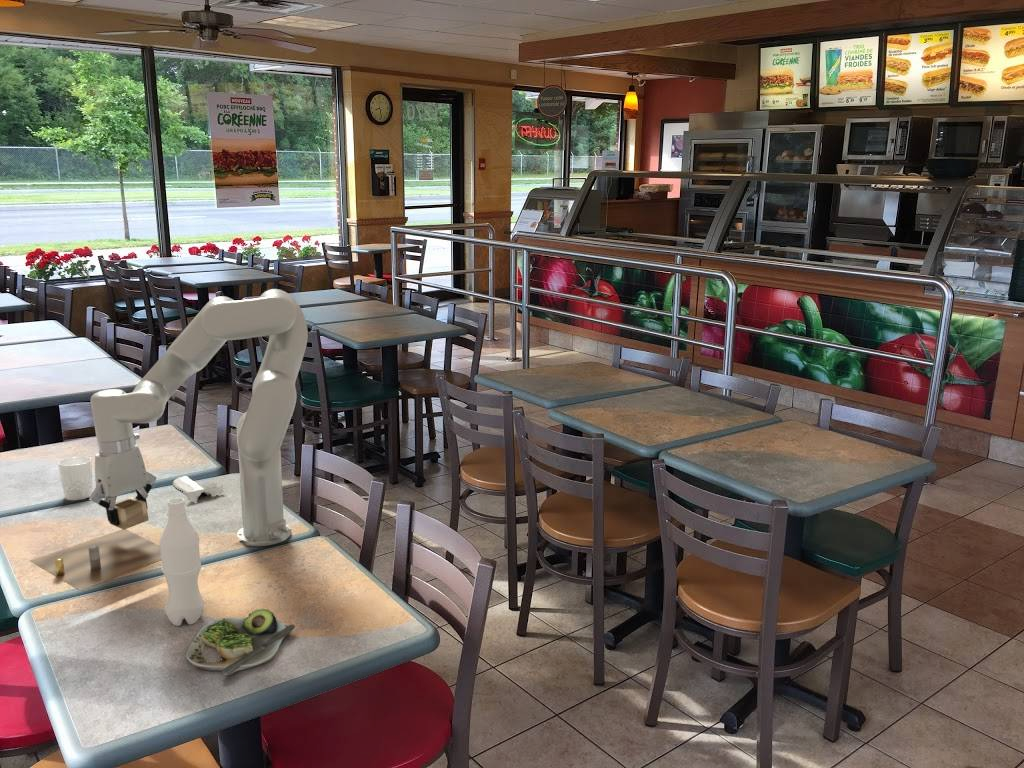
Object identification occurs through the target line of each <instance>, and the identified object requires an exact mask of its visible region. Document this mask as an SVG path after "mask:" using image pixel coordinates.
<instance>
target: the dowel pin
mask: <svg viewBox="0 0 1024 768" xmlns="http://www.w3.org/2000/svg"><path fill="white" fill-rule="evenodd" d="M55 568H56V576H63V575H64V574H65V571H64V563H63V558H57V559H55ZM56 576H55V577H56Z"/></svg>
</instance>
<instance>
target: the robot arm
mask: <svg viewBox="0 0 1024 768" xmlns="http://www.w3.org/2000/svg"><path fill="white" fill-rule="evenodd" d="M308 333H309V332H308V324H307V320H306V316H305V315H304V311H303V309H302V308H301V307H300V305H299V303H298V302H297V301H296V300H295V298H294V297H292V296H291V294H289V293H288V292H286V291H284V290H282V289H278V288H271V289H267V290H265V291H264V292H262V293H261V295H260V296H259V297H257V298H251V299H250V298H249V299H243V300H242V299H241V300H234V299H233V298H230V297H228V296H225V295H222V296H220V295H219V296H216V297H214V298H212V299H210V300H209V301H208V302H207V303H206V304H205V305H204V306H203V307H202V308H201V310H200V311H199V312H198V313H197V314H196V315H195V316H194V318H193V319H191V321H190V322H189V324H188V325H187V326H186V327H185V328H184V329H183V330H182V332H181V333H180V334H179V335H177V337H176V338H175V340H174V341H172V343H171V344H170V346H169V347H168V348H167V349H166V350H165V352H164V353H163V355H162V356H160V358H159V359H158V360H157V361H156V362H155V363H154V365H153V366H151V368H150V369H149V370H148V372H146V374H145V375H144V376H143V377H142V379H140V381H139V382H138V384H136V386H135V387H134V389H133V391H132V392H128V393H127V392H125V390H123V389H118V388H117V389H116V388H113V389H112V388H111V389H103V390H100V391H98V392H95V393H93V394H92V395H91V397H90V407H91V414H92V418H93V424H94V430H95V438H96V443H97V449H98V452H97V453H95V455H94V479H95V480H94V481H95V488H94V490H93V493H92V494H91V496H90V497H88V498H89V499H88V500H89V501H91V502H93V503H95V504H97V505H98V506H101V507H103V508H104V509H105V511H106V516H107V517H106V518H107V521H108V523H109V524H110V523H111V524H110V525H112V524H113V525H112V526H114V525H116V526H118V525H119V524H120V523H119V517H118V511H117V509H116V508H115V503H116V502H117V497H120V496H122V495H126V494H129V493H131V492H135V494H136V496H135V498H136V499H138V500H141V501H144V502H146V506H147V510H148V503H147V498H148V497H149V493H150V491H152V488H153V486H154V484H155V483H156V480H157V477H156V476H155V475H153V474H152V473H150V472H148V471H147V469H146V465H145V461H144V457H143V455H142V452H141V450H140V448H139V446H138V445H137V443H136V442H137V440H140V434H139V433H134V427H133V424H150V423H154V422H156V421H158V420H159V419H160V418H162V416H163V414H164V411H165V409H166V405H167V402H168V401H169V400H170V398H171V397H172V396H173V395H174V394H175V393H176V392H177V391H178V390H179V388H180V387H181V386H182V385H183V384H184V383H185V382H186V381H187V379H189V377H191V376H192V375H193V374H195V373H198V372H200V371H201V370H202V369H204V368H205V367H206V366H207V365H208V363H209V362H210V361H211V360H212V359H213V357H214V356H215V355H216V354H217V353H218V351H219V350H220V349H221V348H222V347H223V346H224V345H225V343H226V342H227V341H235V340H245V339H252V338H259V337H267V336H269V337H268V338H269V339H268V343H267V345H266V349H265V352H264V355H263V358H262V360H261V364H260V367H259V369H258V372H257V373H256V377H255V378H254V381H253V383H252V390H251V391H252V396H251V399H250V402H249V405H248V408H247V411H245V412H244V413H243V414H242V415H241V416H240V418H239V420H238V422H237V424H236V425H237V426H236V442H237V448H238V449H237V451H238V466H239V467H238V468H239V484H240V501H241V503H240V504H241V516H242V519H241V520H242V527H241V528H239V529H238V531H237V533H236V536H237V538H239V541H238V542H239V543H241V544H242V545H246V546H249V547H266V546H273V545H276V544H280V543H282V542H284V541H286V540H287V539H288V538H289V537H291V534H292V528H291V527H290V525H288V524H287V520H286V519H284V518H285V517H284V497H283V495H284V494H283V478H282V476H283V475H282V473H283V472H282V458H281V457H282V455H281V446H282V443H283V441H284V438H285V437H286V433H287V430H288V428H289V425H290V422H291V419H292V416H293V413H294V410H295V407H296V402H297V396H298V395H297V388H296V382H297V378H298V375H299V372H300V369H301V365H302V363H303V360H304V355H305V352H306V349H307V344H308V337H309V336H308V335H309V334H308ZM101 495H104V498H103V499H104V500H103V499H102V498H100V497H101ZM116 526H115V527H116Z"/></svg>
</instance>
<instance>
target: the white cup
mask: <svg viewBox="0 0 1024 768" xmlns="http://www.w3.org/2000/svg"><path fill="white" fill-rule="evenodd" d="M57 462H58V463H57V465H58V471H59V476H60V477H59V478H60V482H61V487H62V490H63V495H64V499H65V500H68V501H80V500H86V499H87V498H89V497H90V496H91V494H92V493H93V491H94V490H93V489H94V488H93V484H94V483H93V464H92V457H90V456H87V455H77V456H76V455H75V456H69V457H65V458H63V459H60V460H58V461H57Z"/></svg>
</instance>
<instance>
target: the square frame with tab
mask: <svg viewBox="0 0 1024 768" xmlns="http://www.w3.org/2000/svg"><path fill="white" fill-rule="evenodd" d="M147 507H148V505H147V506H146V502H144V501H141V500H138V499H136V497H135V496H134V497H133V496H130V497H127V498H124V499H122V500H119V501H116V503H115V508H116V509H117V511H118V517H119V523H120V524H119V525H118V526H116V525H113V524H111V523H110V522H109V525H112V526H114V527H116V528H119V529H120V530H122V529H123V530H125V529H126V530H128V529H130V528H132V527H135V526H138V525H141V524H142V523H145V522H149V513H148V509H147Z"/></svg>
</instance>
